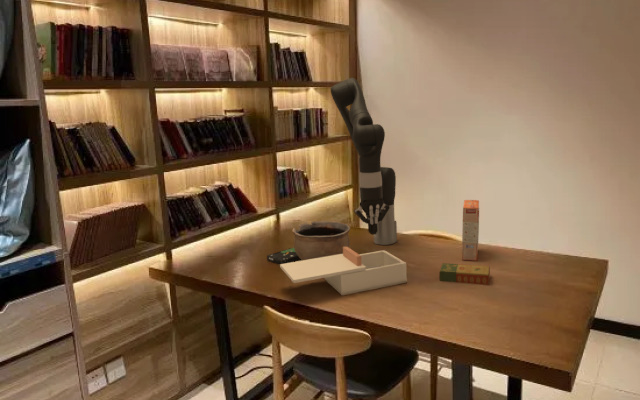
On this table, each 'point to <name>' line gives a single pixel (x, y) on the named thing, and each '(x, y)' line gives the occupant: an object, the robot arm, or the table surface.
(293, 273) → the lid
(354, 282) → the box
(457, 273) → the carton
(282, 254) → the disk drive
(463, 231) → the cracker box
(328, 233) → the ceramic bowl
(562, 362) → the table surface
